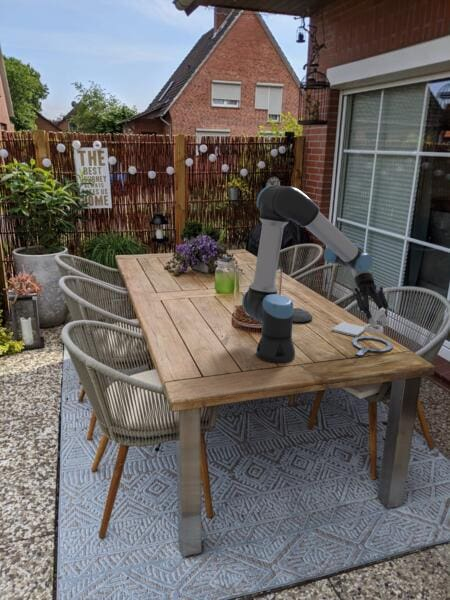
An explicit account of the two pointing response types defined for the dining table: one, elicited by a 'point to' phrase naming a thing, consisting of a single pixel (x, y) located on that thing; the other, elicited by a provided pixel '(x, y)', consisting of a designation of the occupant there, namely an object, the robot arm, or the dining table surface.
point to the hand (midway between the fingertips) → (380, 324)
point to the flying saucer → (301, 315)
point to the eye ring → (364, 350)
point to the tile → (349, 329)
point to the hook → (376, 323)
